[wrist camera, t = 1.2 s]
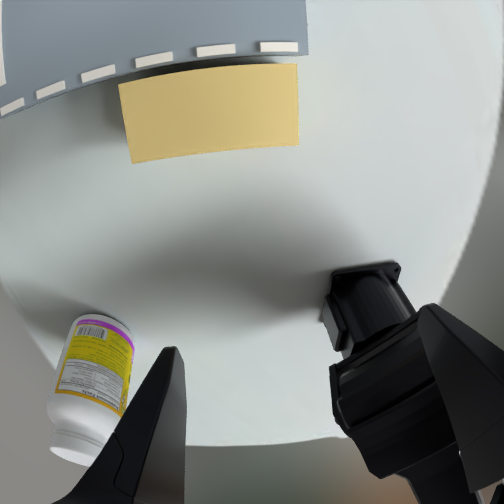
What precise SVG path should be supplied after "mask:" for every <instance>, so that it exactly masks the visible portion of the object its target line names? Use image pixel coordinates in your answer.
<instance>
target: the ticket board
mask: <svg viewBox="0 0 504 504" xmlns="http://www.w3.org/2000/svg"><path fill="white" fill-rule="evenodd" d="M303 55H308V34H307V16H306V1H305V0H0V119H2V118H4V117H7V116H9V115H12V114H14V113H17V112H19V111H21V110H24V109H26V108H28V107H31V106H33V105H35V104H38V103H40V102H43V101H45V100H48V99H50V98H53V97H56V96H58V95H61V94H64V93H67V92H70V91H73V90H76V89H79V88H82V87H85V86H88V85H91V84H95V83H98V82H101V81H105V80H109V79H112V78H116V77H120V76H124V75H128V74H132V73H137V72H141V71H146V70H151V69H156V68H161V67H166V66H172V65H178V64H185V63H192V62H199V61H207V60H217V59H227V58H241V57H260V56H303Z"/></svg>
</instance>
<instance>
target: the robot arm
mask: <svg viewBox="0 0 504 504" xmlns="http://www.w3.org/2000/svg"><path fill="white" fill-rule="evenodd" d="M395 268H396V269H395ZM400 271H401V266H400V265H399V264H398V263H391V264H384V265H377V266H369V267H362V268H355V269H347V270H340V271H335V272H333V273H332V274H331V276H330V282H329V290H328V294H327V295H326V296H325V300H324V307H323V313H322V317H323V320H324V326H325V327H326V329H327V331H328V334H329V337H330V340H331V343H332V346H333V349H334V350H335V351H336V352H339V351H341V353H342V356H343V359H344V360H342V361H340V362H339V363H337V364H333V365H331V366H329V373H330V387H331V398H332V410H333V415H334V417H335V422H336V423H337V424H338V425H339V426H340V427H341V429H342V430H343V432H344V433H345V434H346V435H347V436H348V437H350V438H352V440H353V441H354V442H355V444H356V445H357V447H358V449H359V450H360V452H361V454H362V457H363V459H364V461H365V463H366V466H367V468H368V470H369V472H371V473H372V474H373V475H375V476H376V477H378V478H379V479H383V478H385V477H388V476H390V475H393V474H395V475H397V476H400V477H402V478H405V479H406V480H407V481H408V483H409V485H410V487H411V489H412V491H413V493H414V495H415V497H416V499H417V501H418V503H419V504H485V502H484V499H483V496H482V493H481V490H480V489H483V488H485V487H487V486H489V485H491V484H493V483H495V482H497V481H499V480H501V479H502V481H503V482H501V483H500V484H499V485H497V487H496V489H495V492H494V495H493V497H492V500H491V502H490V504H504V351H503V350H502V349H500V348H499V347H498V346H496V345H495V344H493V343H492V342H490V341H489V340H487V339H486V338H485V337H483V336H482V335H481V334H479V333H478V332H476V331H475V330H473V329H472V328H471V327H469V326H468V325H466V324H465V323H463V322H462V321H461V320H459V319H457V318H456V317H455V316H453V315H452V314H450V313H449V312H447V311H446V310H444V309H443V308H441V307H440V306H438V305H437V304H435V303H431V304H427V305H424V306H422V307H421V308H420V309H419V311H417V312H416V311H415V309H414V307H413V306H412V304H411V303H410V301H409V299H408V298H407V296H406V295H405V293H404V292H403V290H402V288H401V287H400V285H399V284H398V282H397V281H398V278H399V275H400ZM338 276H339V277H338ZM336 277H337V278H336ZM186 417H187V402H186V387H185V370H184V362H183V359H182V357H181V355H180V353H179V350H178V348H177V347H175V346H172V347H165V348H163V349H162V351H161V353H160V354H159V356H158V358H157V359H156V361H155V362H154V364H153V366H152V367H151V369H150V371H149V372H148V374H147V376H146V377H145V379H144V380H143V382H142V384H141V385H140V387H139V389H138V390H137V392H136V394H135V395H134V397H133V399H132V400H131V402H130V404H129V405H128V407H127V409H126V410H125V412H124V414H123V415H122V417H121V419H120V421H119V422H118V424H117V426H116V427H115V429H114V432H112V434H111V436H110V437H109V439H108V441H107V442H106V444H105V446H104V447H103V449H102V450H101V452H100V454H99V455H98V456H97V458H96V459H95V461H94V462H93V463H92V465H91V466H90V467H89V469H88V470H87V471H86V473H85V474H84V475H83V477H82V478H81V479H80V481H79V482H78V483H77V485H76V486H75V487H74V488H73V490H72V491H71V492H70V493H69V494H67V495H66V496H65V497H63V498H62V499H60V500H58V501H56V502H54V503H52V504H184V475H185V440H186Z"/></svg>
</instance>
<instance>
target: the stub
mask: <svg viewBox="0 0 504 504" xmlns="http://www.w3.org/2000/svg"><path fill="white" fill-rule="evenodd" d="M118 86H119V93H120V100H121V106H122V113H123V119H124V124H125V130H126V135H127V141H128V146H129V151H130V156H131V161H132V164H135V163H140V162H146V161H152V160H158V159H164V158H171V157H178V156H185V155H192V154H200V153H208V152H217V151H227V150H237V149H248V148H261V147H275V146H294V145H299V115H298V77H297V64H251V65H236V66H224V67H214V68H205V69H197V70H190V71H183V72H176V73H170V74H165V75H159V76H154V77H149V78H144V79H140V80H135V81H131V82H126V83H122V84H118Z"/></svg>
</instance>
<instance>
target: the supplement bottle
mask: <svg viewBox="0 0 504 504" xmlns="http://www.w3.org/2000/svg"><path fill="white" fill-rule="evenodd" d="M134 350H135V342H134V338H133V336H132V334H131V333H130V332H129V330H128V329H127V328H126V327H125V326H123V325H122V324H121V323H119V322H117V321H116V320H114V319H112V318H109V317H107V316H103V315H99V314H87V315H83V316H80V317H78V318H77V319H76V320H75V321H74V322H73V324H72V326H71V328H70V331H69V333H68V336H67V339H66V341H65V344H64V347H63V350H62V353H61V356H60V359H59V363H58V366H57V369H56V372H55V375H54V379H53V382H52V386H51V389H50V392H49V396H48V399H47V403H46V411H47V414H48V416H49V418H50V420H51V421H52V422H53V423H54V424H55V425H56V429H55V432H53V435H52V436H51V441H50V450H51V451H52V452H53V453H55V454H56V455H58V456H60V457H62V458H64V459H66V460H69V461H72V462H75V463H78V464H81V465H85V466H89V467H90V466H91V465H92V463H93V462H94V461H95V459H96V458H97V456H98V455H99V454H100V452H101V450H102V449H103V447H104V446H105V444H106V442H107V441H108V439H109V437H110V436H111V434H112V432H114V429H115V427H116V426H117V424H118V422H119V421H120V419H121V417H122V415H123V414H124V412H125V410H126V403H127V396H128V389H129V383H130V376H131V369H132V363H133V357H134Z"/></svg>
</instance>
